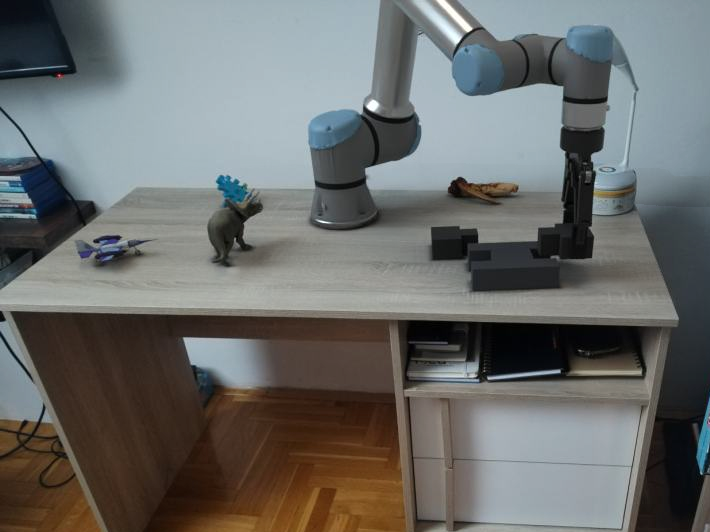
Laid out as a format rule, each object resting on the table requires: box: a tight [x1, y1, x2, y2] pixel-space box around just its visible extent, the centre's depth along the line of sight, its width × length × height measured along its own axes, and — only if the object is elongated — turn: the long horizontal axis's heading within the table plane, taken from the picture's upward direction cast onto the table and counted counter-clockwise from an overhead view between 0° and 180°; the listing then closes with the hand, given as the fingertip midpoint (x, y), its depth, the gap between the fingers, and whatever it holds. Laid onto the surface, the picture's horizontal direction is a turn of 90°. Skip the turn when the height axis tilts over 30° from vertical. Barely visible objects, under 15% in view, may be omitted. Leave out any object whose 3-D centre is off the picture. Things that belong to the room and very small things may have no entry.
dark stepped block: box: [536, 222, 595, 261], centre depth 122 cm, size 7×10×4 cm
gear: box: [214, 174, 255, 207], centre depth 159 cm, size 11×6×10 cm
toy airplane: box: [74, 234, 158, 266], centre depth 133 cm, size 13×14×4 cm
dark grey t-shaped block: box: [430, 225, 479, 261], centre depth 134 cm, size 7×10×4 cm
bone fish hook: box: [447, 176, 520, 205], centre depth 162 cm, size 9×5×18 cm
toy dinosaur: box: [206, 188, 264, 267], centre depth 131 cm, size 22×8×11 cm, turn 168°
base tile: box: [467, 240, 561, 292], centre depth 124 cm, size 12×16×4 cm
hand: (572, 250), depth 123 cm, fingers closed on dark stepped block, 7 cm apart
